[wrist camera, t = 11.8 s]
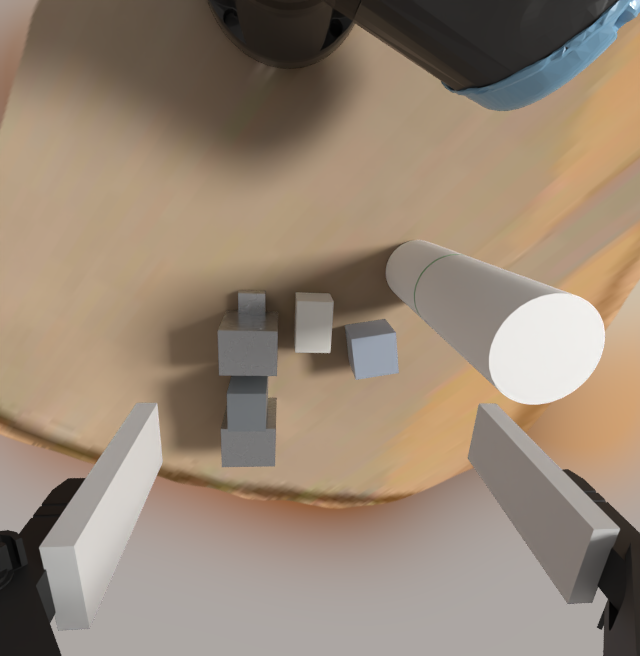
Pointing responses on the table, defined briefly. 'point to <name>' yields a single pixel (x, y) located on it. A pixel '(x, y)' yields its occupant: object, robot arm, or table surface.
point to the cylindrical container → (501, 321)
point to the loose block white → (313, 322)
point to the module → (247, 403)
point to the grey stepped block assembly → (249, 374)
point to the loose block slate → (372, 348)
